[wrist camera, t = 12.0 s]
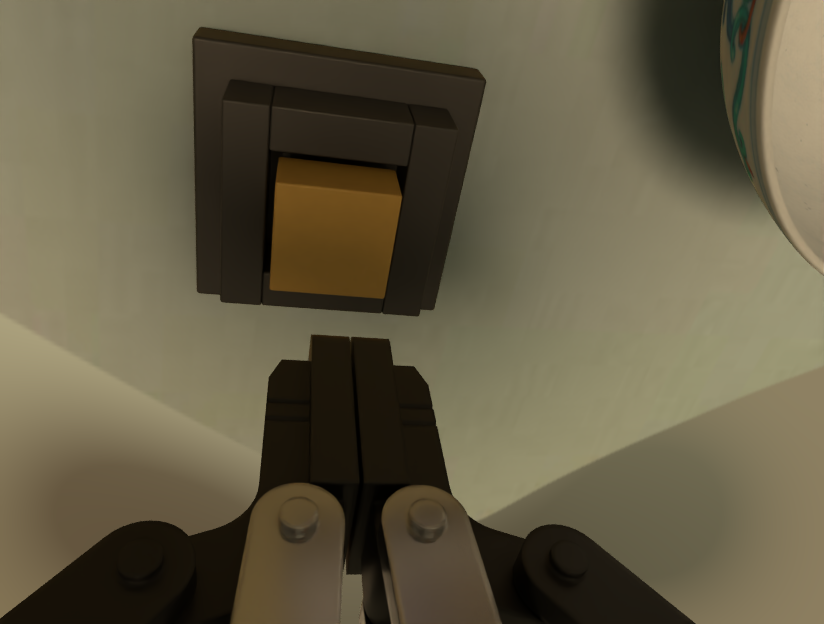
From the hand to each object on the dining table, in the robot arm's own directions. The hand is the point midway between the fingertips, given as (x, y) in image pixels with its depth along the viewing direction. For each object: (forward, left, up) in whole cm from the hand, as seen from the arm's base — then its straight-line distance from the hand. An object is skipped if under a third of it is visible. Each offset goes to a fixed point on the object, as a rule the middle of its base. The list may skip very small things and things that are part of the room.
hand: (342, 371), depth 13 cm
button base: (0, 0, -10) cm, 10 cm away
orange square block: (0, 0, -7) cm, 7 cm away
